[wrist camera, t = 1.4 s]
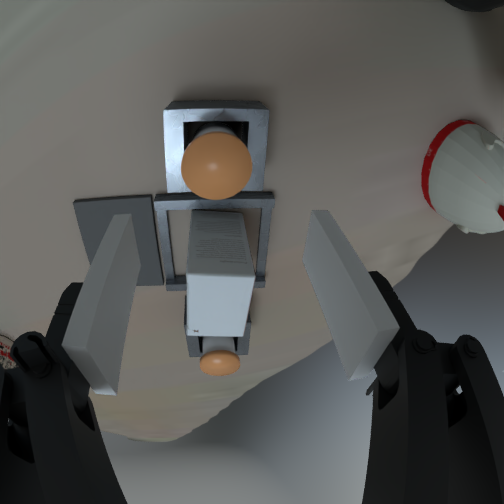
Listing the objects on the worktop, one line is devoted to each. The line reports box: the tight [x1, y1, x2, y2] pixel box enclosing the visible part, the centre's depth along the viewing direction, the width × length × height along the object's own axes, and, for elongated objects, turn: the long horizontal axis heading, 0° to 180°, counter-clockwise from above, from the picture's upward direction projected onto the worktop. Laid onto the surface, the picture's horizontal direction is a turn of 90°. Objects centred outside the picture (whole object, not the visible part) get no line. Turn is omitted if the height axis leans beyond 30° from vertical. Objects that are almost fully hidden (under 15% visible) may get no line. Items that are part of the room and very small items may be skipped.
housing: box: [154, 100, 275, 357], centre depth 31 cm, size 12×31×5 cm, turn 177°
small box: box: [186, 210, 256, 337], centre depth 29 cm, size 8×6×10 cm
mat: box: [73, 195, 164, 286], centre depth 32 cm, size 9×12×1 cm
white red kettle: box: [421, 120, 504, 234], centre depth 25 cm, size 14×14×15 cm
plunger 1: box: [181, 122, 252, 200], centre depth 21 cm, size 5×5×6 cm
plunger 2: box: [200, 336, 240, 376], centre depth 36 cm, size 5×5×6 cm
